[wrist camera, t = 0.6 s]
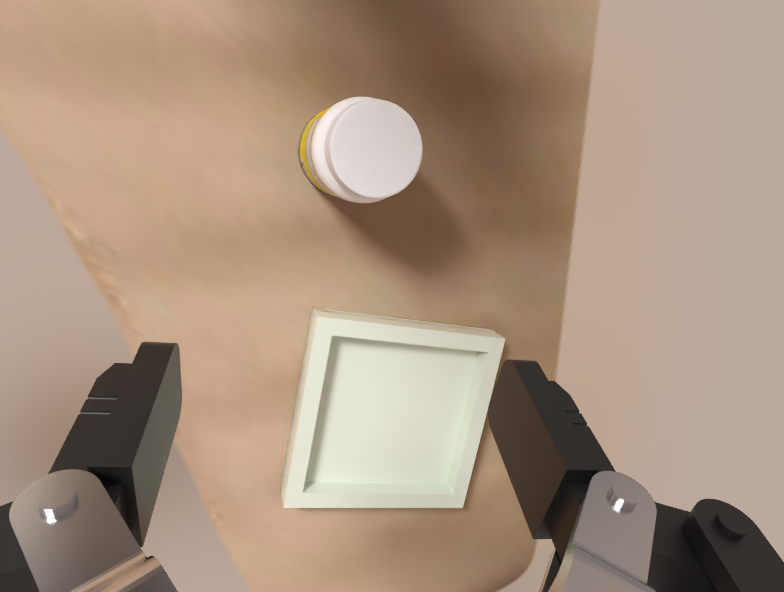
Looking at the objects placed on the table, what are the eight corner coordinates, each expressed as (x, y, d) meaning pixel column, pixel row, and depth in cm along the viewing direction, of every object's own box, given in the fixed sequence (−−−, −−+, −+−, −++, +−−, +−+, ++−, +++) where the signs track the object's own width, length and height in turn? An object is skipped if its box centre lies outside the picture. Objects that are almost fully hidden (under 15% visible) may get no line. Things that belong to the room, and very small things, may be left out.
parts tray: (312, 307, 31) (317, 316, 29) (490, 329, 35) (505, 338, 33) (280, 488, 34) (283, 507, 32) (451, 490, 37) (462, 508, 36)
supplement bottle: (388, 120, 30) (444, 106, 22) (371, 203, 31) (419, 218, 23) (304, 97, 28) (333, 75, 21) (289, 185, 29) (311, 196, 21)
